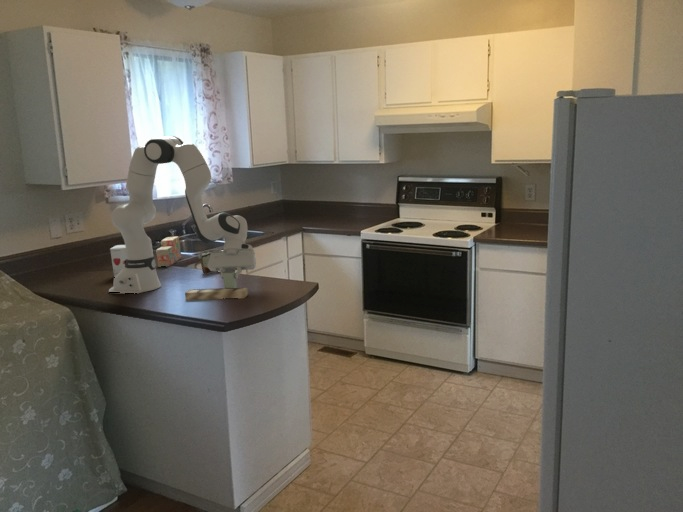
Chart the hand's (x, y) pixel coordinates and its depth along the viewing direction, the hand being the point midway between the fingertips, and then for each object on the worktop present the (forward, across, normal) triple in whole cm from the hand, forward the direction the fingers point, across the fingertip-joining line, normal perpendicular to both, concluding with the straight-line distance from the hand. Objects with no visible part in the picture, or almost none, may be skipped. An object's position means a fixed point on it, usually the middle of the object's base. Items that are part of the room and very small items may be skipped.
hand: (229, 278), depth 251 cm
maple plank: (+8, -4, +1) cm, 9 cm away
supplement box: (-22, -66, +31) cm, 76 cm away
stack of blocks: (-41, -55, +50) cm, 85 cm away
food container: (-24, -24, +33) cm, 47 cm away
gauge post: (+3, 0, +4) cm, 5 cm away
